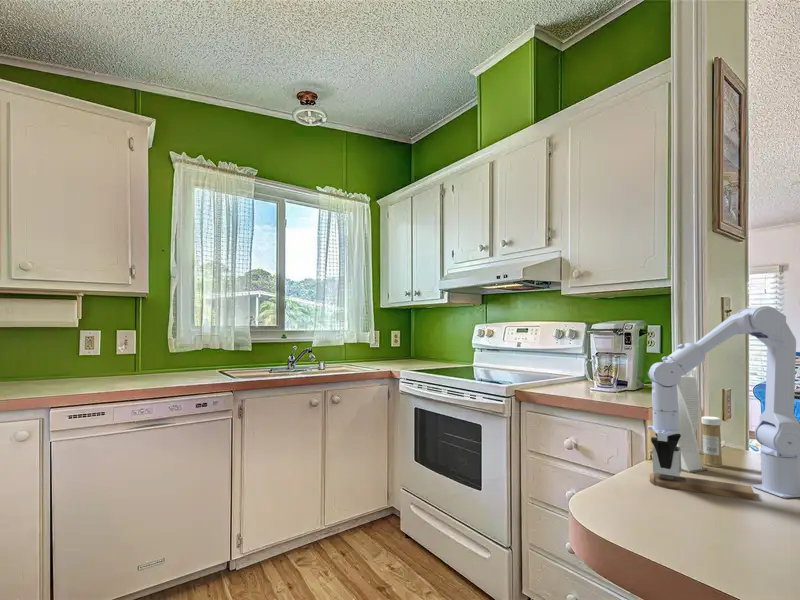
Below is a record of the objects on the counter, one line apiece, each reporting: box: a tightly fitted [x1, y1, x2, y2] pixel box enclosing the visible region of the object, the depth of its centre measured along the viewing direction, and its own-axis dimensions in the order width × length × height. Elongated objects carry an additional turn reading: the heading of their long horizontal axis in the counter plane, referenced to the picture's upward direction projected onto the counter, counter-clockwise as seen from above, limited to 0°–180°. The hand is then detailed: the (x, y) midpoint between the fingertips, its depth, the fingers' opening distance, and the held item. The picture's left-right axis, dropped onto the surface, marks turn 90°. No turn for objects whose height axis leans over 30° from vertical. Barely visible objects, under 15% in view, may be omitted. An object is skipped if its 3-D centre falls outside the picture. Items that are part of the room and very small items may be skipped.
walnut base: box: [649, 472, 756, 501], centre depth 112 cm, size 21×8×4 cm, turn 59°
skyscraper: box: [677, 367, 707, 474], centre depth 129 cm, size 8×8×28 cm
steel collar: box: [652, 445, 683, 477], centre depth 116 cm, size 6×6×6 cm
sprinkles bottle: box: [700, 415, 723, 468], centre depth 132 cm, size 5×5×14 cm
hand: (667, 465), depth 116 cm, fingers closed on steel collar, 6 cm apart
